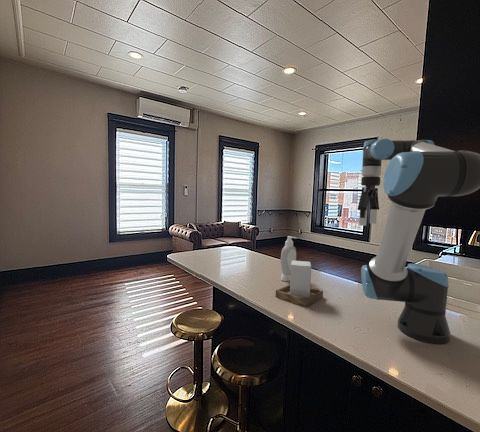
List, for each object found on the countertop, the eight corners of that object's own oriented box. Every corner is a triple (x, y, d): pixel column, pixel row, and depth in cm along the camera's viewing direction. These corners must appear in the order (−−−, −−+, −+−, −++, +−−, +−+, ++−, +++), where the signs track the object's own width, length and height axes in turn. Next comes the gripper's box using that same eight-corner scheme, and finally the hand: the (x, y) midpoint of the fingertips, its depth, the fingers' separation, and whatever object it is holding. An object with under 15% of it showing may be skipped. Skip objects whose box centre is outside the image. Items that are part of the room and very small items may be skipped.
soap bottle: (287, 284, 139) (289, 238, 137) (276, 280, 145) (278, 236, 143) (302, 279, 148) (304, 236, 146) (291, 276, 153) (293, 234, 151)
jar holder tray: (322, 297, 122) (323, 291, 122) (305, 307, 111) (305, 300, 110) (293, 288, 133) (294, 282, 132) (275, 296, 121) (275, 290, 121)
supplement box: (310, 299, 116) (311, 266, 115) (289, 297, 118) (290, 264, 117) (309, 292, 125) (310, 261, 124) (290, 290, 127) (291, 259, 126)
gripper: (371, 178, 127) (368, 222, 129) (351, 174, 109) (348, 225, 111) (388, 178, 122) (385, 223, 124) (370, 174, 104) (367, 227, 106)
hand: (367, 224), depth 117 cm, fingers open, 13 cm apart
